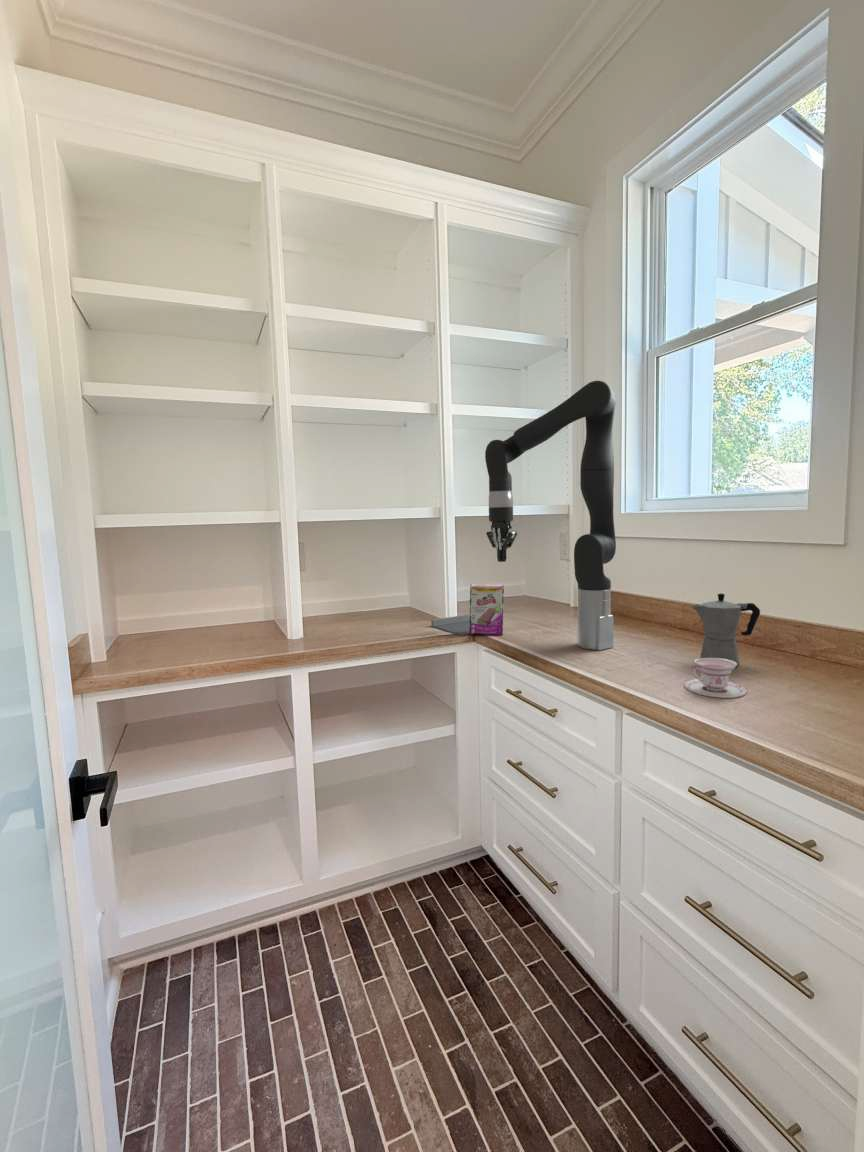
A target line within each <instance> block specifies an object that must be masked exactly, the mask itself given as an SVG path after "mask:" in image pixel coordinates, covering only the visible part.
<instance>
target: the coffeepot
mask: <svg viewBox="0 0 864 1152" xmlns="http://www.w3.org/2000/svg"><path fill="white" fill-rule="evenodd" d="M725 597H726V594H724V593H717V599H718V600H713V601H707V602H702V603H699V604H694V605H692V607H691V608H692V609H694V610H695V611H696V613H697V615H698V616H699V618H700V620H702V626H703V630H704V631H705V634H704V638H703V643H702V648H701V652H700V655H699V658H721V659H727V660H731V661H734V662H736V663H737V665H736V666H735V668H737V667H738V666H740V663H741V662H740V657H739V651H738V644H737V639H736V632H737V630H738V625H739V620H740V616H741V612H747V611H751V614H750V618H749V622H748V623H747V626H746V630H745V631H740V634H741V636H751V634H752V633H753V630H754V627H755V626H756V624H757V621H758V619H759V617H760V615H761V610H760V608H759V607H758V606H757V605H756V604H755V603H752V602H742V603H741V602H739V603H733V602H730V601H726V600H725Z"/></svg>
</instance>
